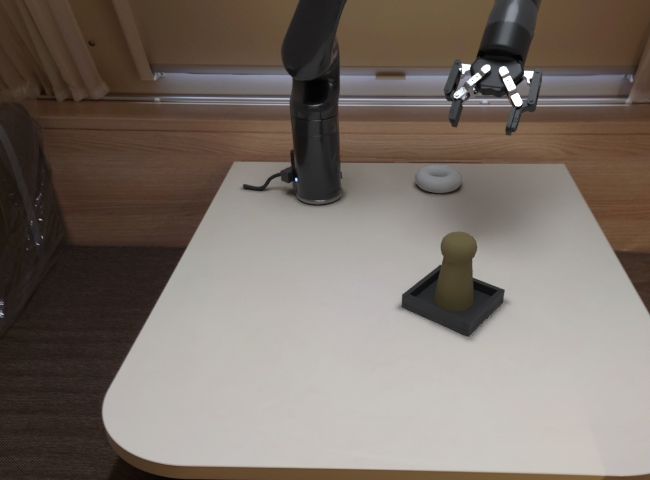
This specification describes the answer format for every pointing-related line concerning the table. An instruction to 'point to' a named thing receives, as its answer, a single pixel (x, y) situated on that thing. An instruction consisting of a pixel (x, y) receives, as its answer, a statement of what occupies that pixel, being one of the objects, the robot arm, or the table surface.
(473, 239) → the brown pawn piece
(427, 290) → the tray
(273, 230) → the table surface
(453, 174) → the donut
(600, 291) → the table surface
